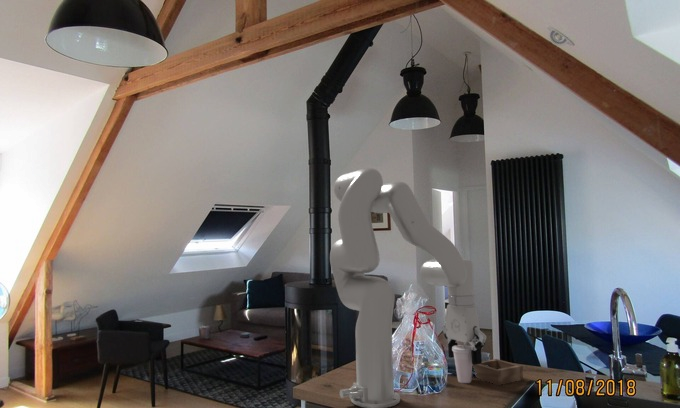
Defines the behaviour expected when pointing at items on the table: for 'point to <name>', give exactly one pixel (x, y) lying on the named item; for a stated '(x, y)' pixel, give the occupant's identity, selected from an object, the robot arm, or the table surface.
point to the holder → (498, 371)
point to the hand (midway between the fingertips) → (464, 360)
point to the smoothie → (463, 362)
